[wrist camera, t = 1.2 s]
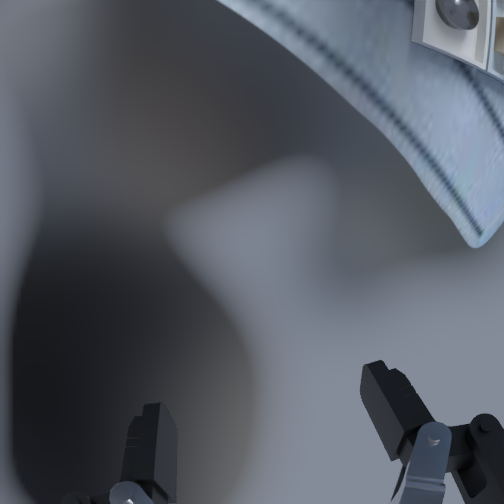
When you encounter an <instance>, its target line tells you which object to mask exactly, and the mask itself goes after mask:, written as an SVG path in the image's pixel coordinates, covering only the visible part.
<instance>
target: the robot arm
mask: <svg viewBox="0 0 504 504" xmlns="http://www.w3.org/2000/svg"><path fill="white" fill-rule="evenodd" d="M360 394H361V399H362V401H363V404H364V406H365V408H366V410H367V412H368V414H369V416H370V418H371V420H372V422H373V424H374V426H375V428H376V430H377V432H378V434H379V437H380V439H381V441H382V443H383V445H384V447H385V449H386V451H387V453H388V455H389V457H390V460H391V461H394V460H396V459H399V458H400V460H401V462H402V466H401V469H400V472H399V475H398V478H397V481H396V484H395V487H394V490H393V492H392V495H391V498H390V501H389V503H388V504H442V502H443V498H444V494H445V488H446V487H445V484H443V480H444V476H445V473H447V472H451V474H452V476H453V478H454V480H455V482H456V484H457V487H458V488H459V491H460V493H461V495H462V498H463V500H464V502H465V504H504V429H503V428H502V426H501V424H500V423H499V421H498V420H497V419H496V418H495V417H494V416H493V415H490V414H480V415H477V416H476V417H474V418H473V420H472V421H471V423H470V424H465V425H459V426H452V427H449V426H446V425H445V424H443V423H440V422H436V421H435V420H434V419H433V417H432V416H431V414H430V412H429V411H428V409H427V408H426V406H425V405H424V403H423V402H422V400H421V398H420V397H419V395H418V394H417V393H416V391H415V389H414V388H413V386H411V383H410V382H409V380H408V379H407V377H406V376H405V374H403V373H402V372H400V371H399V370H397V369H396V368H394V369H391V370H389V369H388V368H387V366H386V365H385V363H384V362H383V361H382V360H379V361H375V362H372V363H369V364H365V365H364V366H363V370H362V378H361V385H360ZM177 441H178V434H177V428H176V424H175V422H174V420H173V418H172V417H171V415H170V413H169V411H168V409H167V407H166V405H165V404H164V402H155V403H145V405H144V407H143V413H142V416H135V417H134V419H133V421H132V422H131V423H130V425H129V427H128V433H127V439H126V448H125V452H124V458H123V465H122V472H121V478H120V482H119V483H118V484H116V485H115V486H114V487H113V488H112V489H111V491H110V492H108V493H105V494H100V495H96V496H91V497H87V496H86V495H84V494H83V493H80V492H71V493H69V494H67V495H66V496H65V497H64V498H63V500H62V503H61V504H168V503H176V477H177Z"/></svg>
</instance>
